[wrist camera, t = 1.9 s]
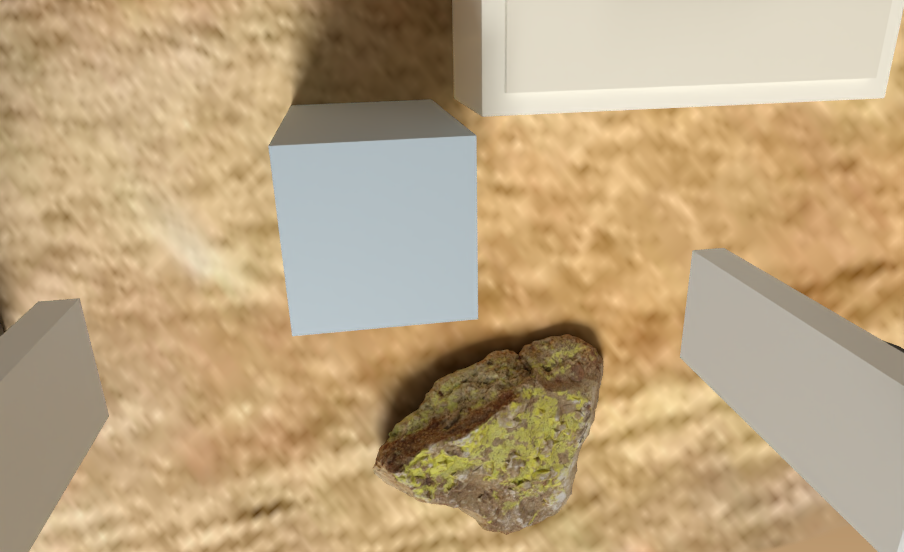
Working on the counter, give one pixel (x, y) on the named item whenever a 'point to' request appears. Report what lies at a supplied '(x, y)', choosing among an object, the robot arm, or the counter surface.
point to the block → (376, 215)
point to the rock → (500, 434)
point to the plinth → (668, 53)
